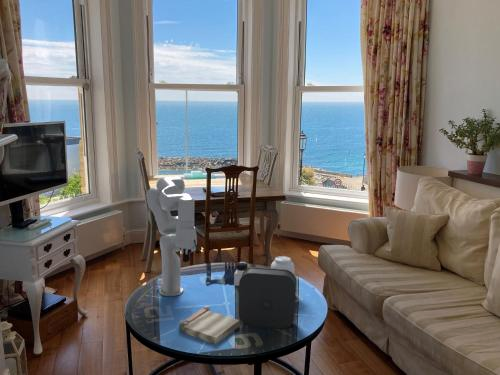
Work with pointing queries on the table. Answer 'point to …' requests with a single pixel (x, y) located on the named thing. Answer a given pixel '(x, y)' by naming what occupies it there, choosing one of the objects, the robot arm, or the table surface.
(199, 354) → the table surface
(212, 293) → the table surface
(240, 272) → the box camera
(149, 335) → the table surface
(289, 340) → the table surface
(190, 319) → the folding leg
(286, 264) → the white ribbed vase
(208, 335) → the stool seat
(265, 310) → the speaker
